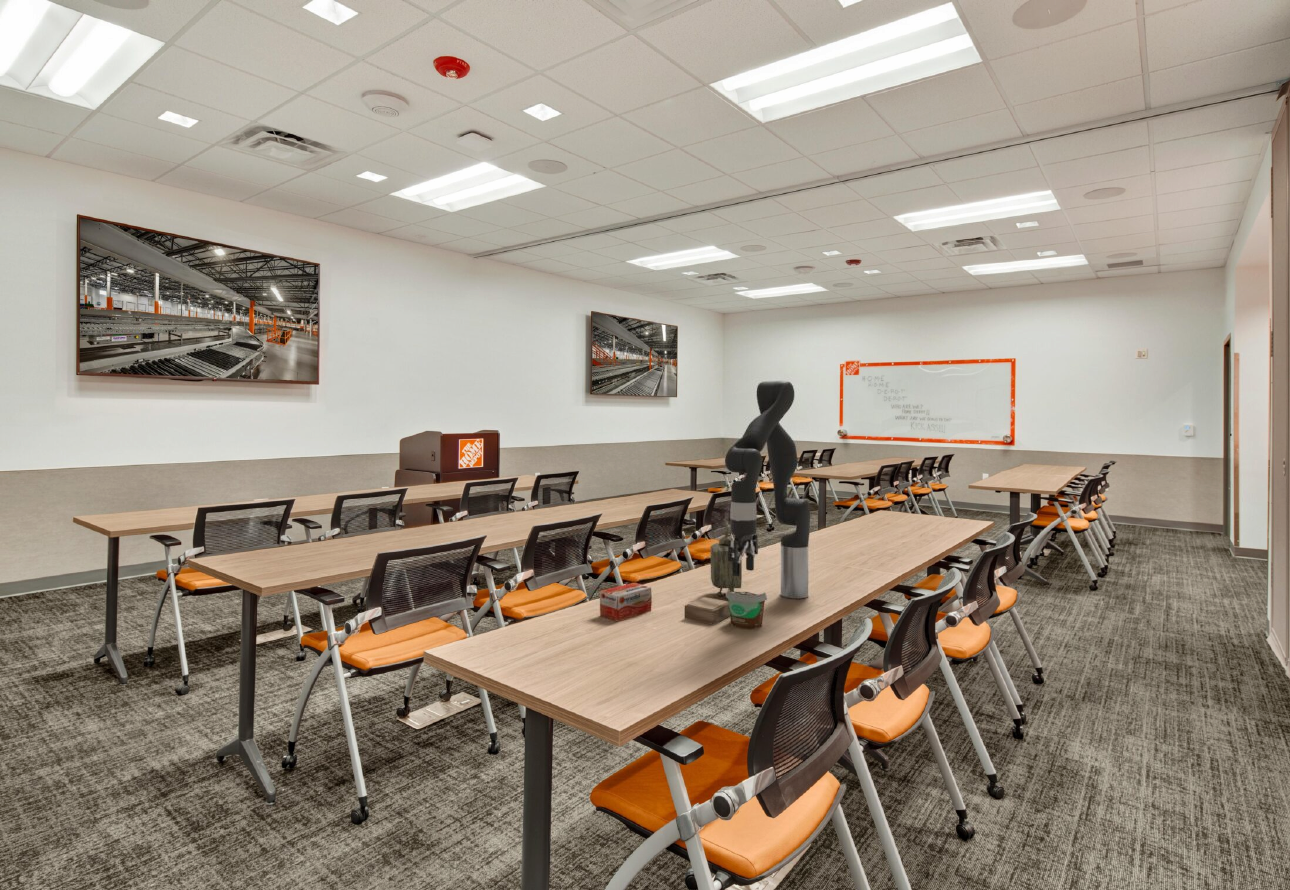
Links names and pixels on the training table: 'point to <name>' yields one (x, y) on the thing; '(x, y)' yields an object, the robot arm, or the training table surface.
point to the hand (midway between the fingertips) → (743, 572)
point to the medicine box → (625, 601)
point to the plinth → (707, 610)
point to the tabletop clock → (723, 566)
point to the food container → (746, 609)
